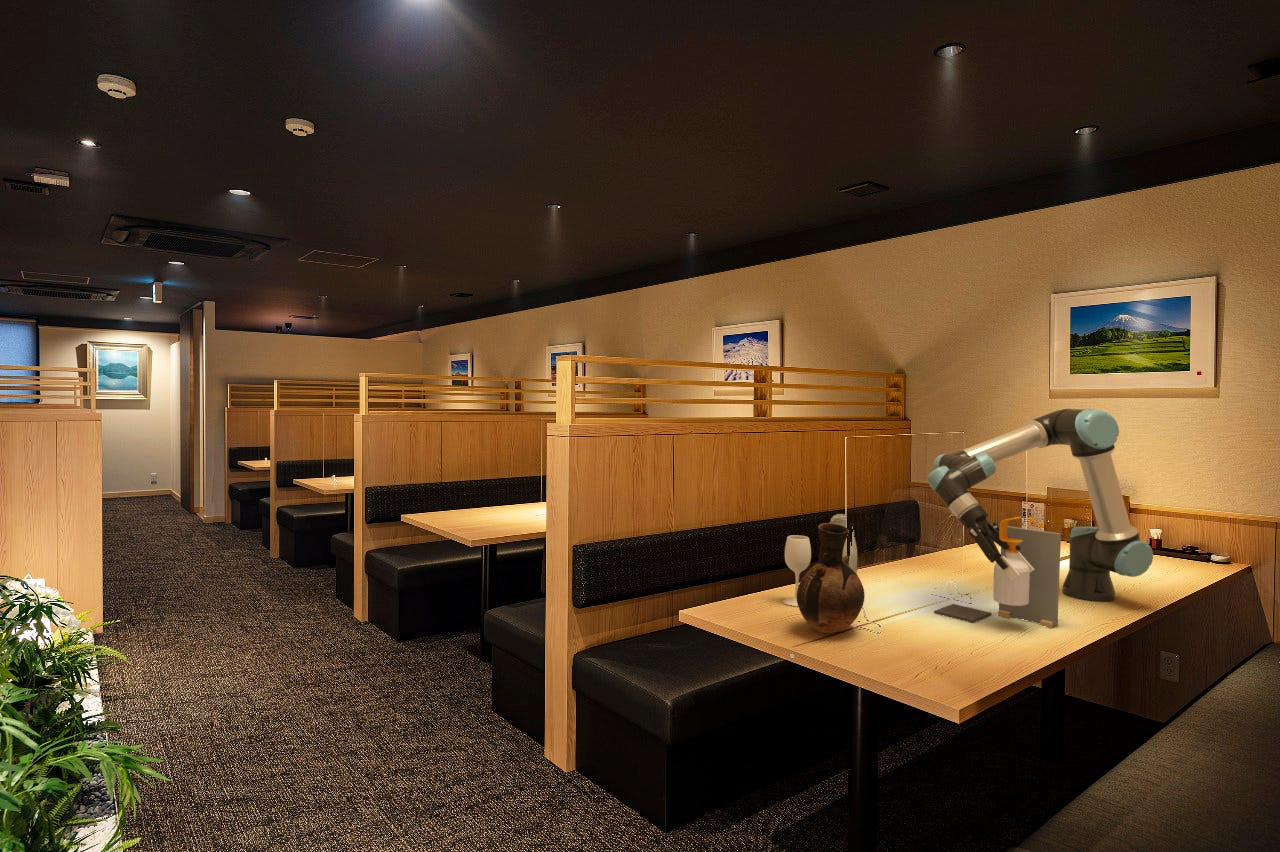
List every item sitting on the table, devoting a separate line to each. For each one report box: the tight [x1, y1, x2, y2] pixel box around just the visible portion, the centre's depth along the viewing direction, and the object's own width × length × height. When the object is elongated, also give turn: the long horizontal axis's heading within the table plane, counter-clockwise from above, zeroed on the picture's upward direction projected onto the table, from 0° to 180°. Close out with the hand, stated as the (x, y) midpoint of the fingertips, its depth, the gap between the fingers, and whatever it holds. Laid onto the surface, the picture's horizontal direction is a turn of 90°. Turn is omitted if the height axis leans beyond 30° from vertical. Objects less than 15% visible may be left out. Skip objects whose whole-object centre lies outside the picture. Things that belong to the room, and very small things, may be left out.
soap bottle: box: [992, 516, 1030, 606], centre depth 212 cm, size 9×9×25 cm
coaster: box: [933, 603, 993, 624], centre depth 225 cm, size 12×12×1 cm
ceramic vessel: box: [797, 522, 865, 634], centre depth 207 cm, size 21×18×30 cm
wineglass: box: [782, 534, 812, 607], centre depth 235 cm, size 9×9×21 cm
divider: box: [997, 525, 1062, 629], centre depth 219 cm, size 5×16×27 cm, turn 40°
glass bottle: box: [829, 513, 858, 575], centre depth 238 cm, size 10×10×28 cm
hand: (1023, 575), depth 209 cm, fingers closed on soap bottle, 9 cm apart
